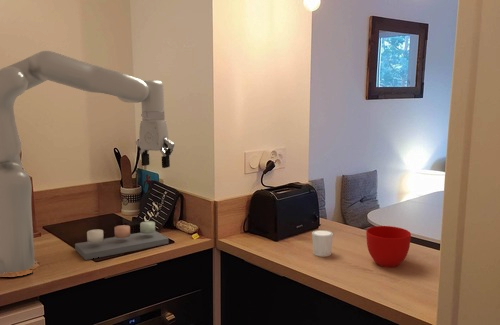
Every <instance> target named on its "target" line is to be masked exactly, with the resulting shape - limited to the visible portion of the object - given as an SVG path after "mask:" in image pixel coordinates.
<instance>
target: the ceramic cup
mask: <svg viewBox="0 0 500 325" xmlns="http://www.w3.org/2000/svg"><path fill="white" fill-rule="evenodd" d="M365 231H366V235H365V236H366V245H367V246H366V247H367V250H368V253H369V255H370V256H371V258H372V260H373V261H374V262H375V263H376V265H378V266H381V267H384V268H396V267H397V266H399V265H400V264H401V263H402V262H403V261H404V260H405V259H406V257H407V256H408V253H409V250H410V245H411V239H412V233H411V232H410V231H409V230H408V229H405V228H402V227H396V226H391V225H378V226H377V225H376V226H375V225H374V226H371V227H368V228H367V229H366V230H365Z"/></svg>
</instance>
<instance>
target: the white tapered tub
mask: <svg viewBox="0 0 500 325" xmlns="http://www.w3.org/2000/svg"><path fill="white" fill-rule="evenodd" d="M333 238H334V233H333V232H332V231H331V230H323V229H318V230H313V231H312V232H311V239H312V240H311V241H312V250H313V255H314V256H316V257H330V256H331V255H332V247H333V242H334V241H333V240H334V239H333Z"/></svg>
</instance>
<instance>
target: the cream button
mask: <svg viewBox="0 0 500 325" xmlns="http://www.w3.org/2000/svg"><path fill="white" fill-rule="evenodd" d="M86 239H87V241H86V242H89V243H98V242H102V241H103V240H104V239H105V238H104V230H103V229H98V228H97V229H90V230H87V232H86Z"/></svg>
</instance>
